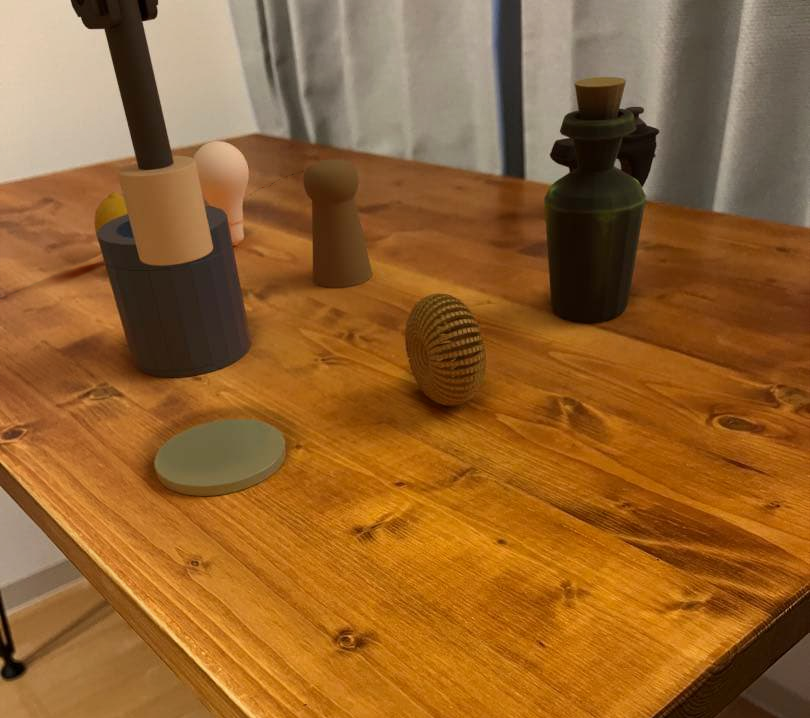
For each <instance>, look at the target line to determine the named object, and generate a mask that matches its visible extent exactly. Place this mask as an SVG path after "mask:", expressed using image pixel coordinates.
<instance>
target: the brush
mask: <svg viewBox="0 0 810 718" xmlns="http://www.w3.org/2000/svg"><path fill="white" fill-rule="evenodd" d="M117 1H118V5H119V10H120V14H121V24H120V26H118V27H114V28H109V29H103V30H104V33H105V38H106V42H107V46H108V50H109V54H110V58H111V63H112V66H113V71H114V74H115V78H116V83H117V86H118V90H119V94H120V95H119V96H120V98H121V104H122V107H123V111H124V115H125V119H126V123H127V127H128V132H129V135H130V140H131V143H132V148H133V153H134V157H135V161H132V162H128V163H127V164H124V165H122V166H120V167H119V168H118V169H117V170H116V173H117V177H118V181H119V185H120V189H121V192H122V196H123V197H124V201H125V204H126V208H127V212H128V216H129V220H130V224H131V228H132V231H133V235H134V239H135V243H136V247H137V251H138V254H139V258H140V260H141V261H142V262H143V263H145V264H149V265H175V264H181V263H186V262H190V261H194V260H197V259H199V258H202V257H204V256H206V255H207V254H209V253H210V252H211V251H212V250H213V244H212V239H211V234H210V229H209V225H208V220H207V215H206V210H205V201H204V197H203V195H202V191H201V186H200V181H199V177H198V172H197V167H196V162H195V160H194V159H193V158H194V157H190V156H185V155H173V152H172V148H171V143H170V139H169V134H168V130H167V126H166V122H165V117H164V112H163V107H162V103H161V99H160V94H159V89H158V85H157V81H156V76H155V71H154V66H153V63H152V59H151V53H150V48H149V45H148V41H147V40H148V39H147V36H146V35H147V34H146V30H145V27H144V21H142V17H141V13H140V8H139V4H138V0H117Z"/></svg>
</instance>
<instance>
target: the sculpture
mask: <svg viewBox="0 0 810 718" xmlns="http://www.w3.org/2000/svg"><path fill="white" fill-rule="evenodd" d="M404 337H405V338H404V339H405V340H404V342H405V352H406V356H407V359H408V365H409V367H410V370H411V373H412V376H413V377H414V380H415V382H416V383H417V385H418V387H419V388H420V389H421V392H422V393H424V395H425V396H426V397H427V398H429V399H430V400H431V401H432V402H434V403H437V404H439V405H442V406H452V407H453V406H457V405H458V406H459V405H462V404H465V403H467V402H468V401H469V400H471V399H472V398H473V397H475V395H476V394H477V392H479V390H480V388H481V386H482V384H483V381H484V377H485V374H486V363H487V358H486V349H485V342H483V341H484V337H483V335H482V331H481V328H480V325H479V323H478V322H477V319H476V317H475V316H474V314H473V313H472V311H471V310H470V308H469V307H468V306H467V305H466V304H465V303H464V302H463V301H462V300H461V299H459V298H457V297H455V296H454V295H451V294H447V293H440V292H439V293H433V294H429V295H426V296H424V297H422V298H421V299H420V300H419V301H417V302H416V303H415V305H413V307H412V308H411V310H410V312H409V314H408V317H407V320H406V324H405V332H404ZM447 341H448V342H447Z"/></svg>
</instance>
